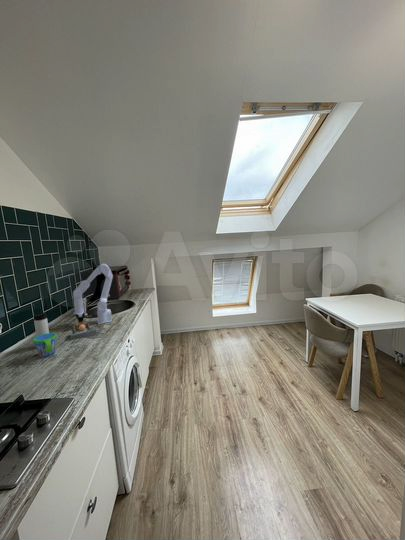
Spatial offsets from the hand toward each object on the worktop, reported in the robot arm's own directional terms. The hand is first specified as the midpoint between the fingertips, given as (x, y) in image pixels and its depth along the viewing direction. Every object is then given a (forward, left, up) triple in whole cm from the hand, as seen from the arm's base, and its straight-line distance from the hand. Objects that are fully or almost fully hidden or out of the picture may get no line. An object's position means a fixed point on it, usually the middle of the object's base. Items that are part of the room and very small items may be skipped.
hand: (81, 323), depth 166 cm
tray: (0, +20, -1) cm, 20 cm away
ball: (0, +10, +1) cm, 10 cm away
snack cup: (+19, +37, -2) cm, 42 cm away
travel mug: (+21, +23, -2) cm, 32 cm away
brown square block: (0, +4, -1) cm, 5 cm away
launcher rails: (0, +7, -1) cm, 7 cm away
